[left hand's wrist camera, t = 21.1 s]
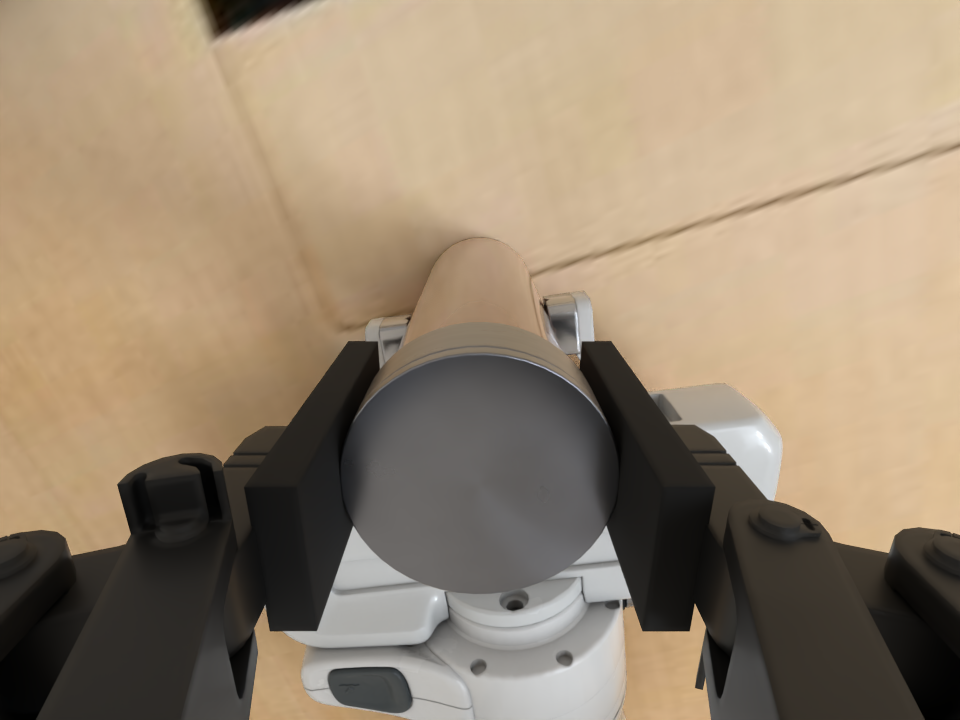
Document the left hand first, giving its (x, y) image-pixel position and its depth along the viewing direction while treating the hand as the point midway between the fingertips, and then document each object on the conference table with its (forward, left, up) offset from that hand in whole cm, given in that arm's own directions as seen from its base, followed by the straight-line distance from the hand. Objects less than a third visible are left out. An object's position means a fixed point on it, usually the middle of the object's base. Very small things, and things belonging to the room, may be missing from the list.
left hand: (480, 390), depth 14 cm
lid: (0, 0, +4) cm, 4 cm away
